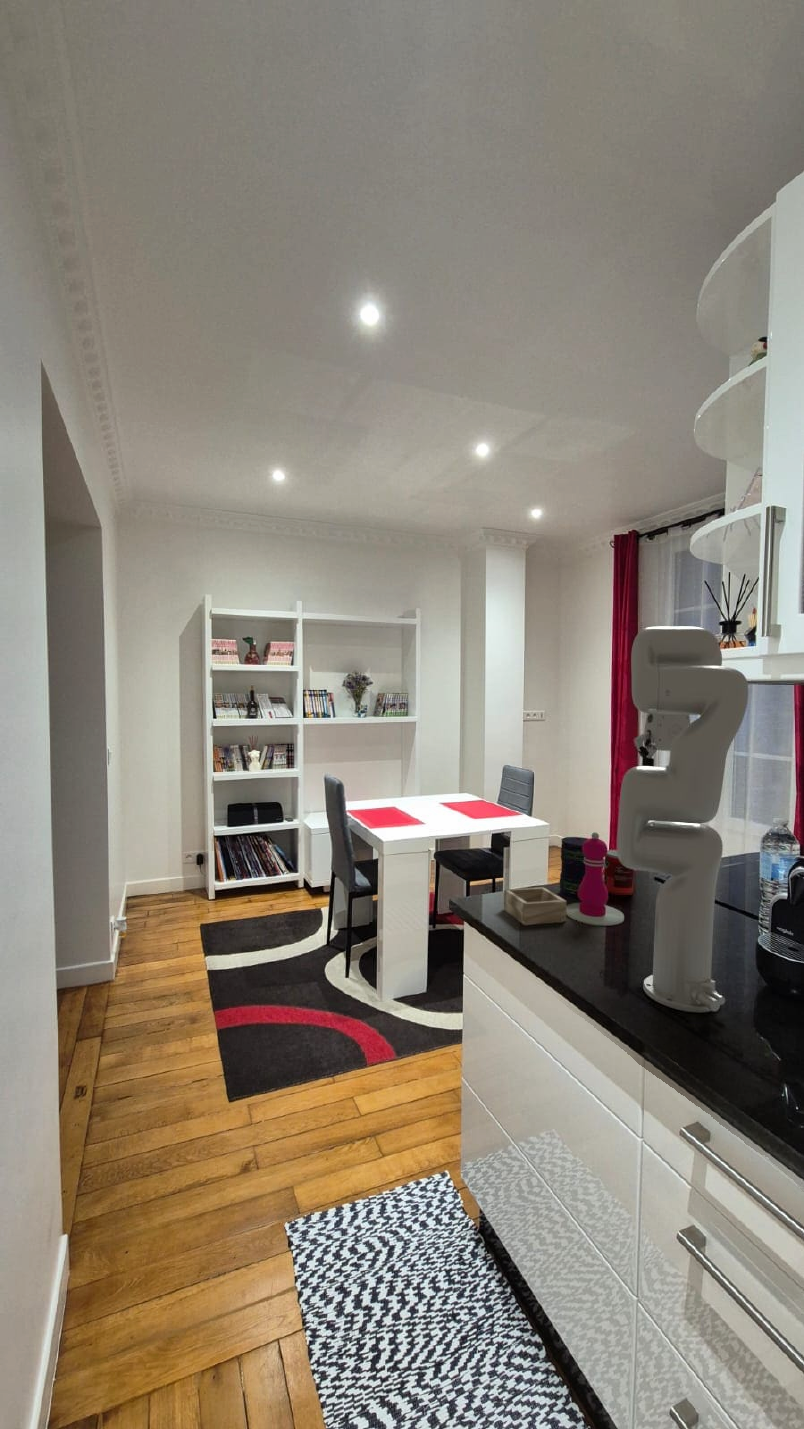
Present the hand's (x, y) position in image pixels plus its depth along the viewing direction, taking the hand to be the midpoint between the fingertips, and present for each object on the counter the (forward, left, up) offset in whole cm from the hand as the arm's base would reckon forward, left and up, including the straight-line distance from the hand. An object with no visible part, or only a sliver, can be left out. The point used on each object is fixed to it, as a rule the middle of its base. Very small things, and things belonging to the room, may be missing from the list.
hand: (664, 774), depth 143 cm
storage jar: (+25, +6, -36) cm, 45 cm away
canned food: (+25, -7, -36) cm, 45 cm away
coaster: (+10, +11, -36) cm, 39 cm away
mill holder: (+13, +26, -36) cm, 47 cm away
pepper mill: (+10, +12, -36) cm, 39 cm away
